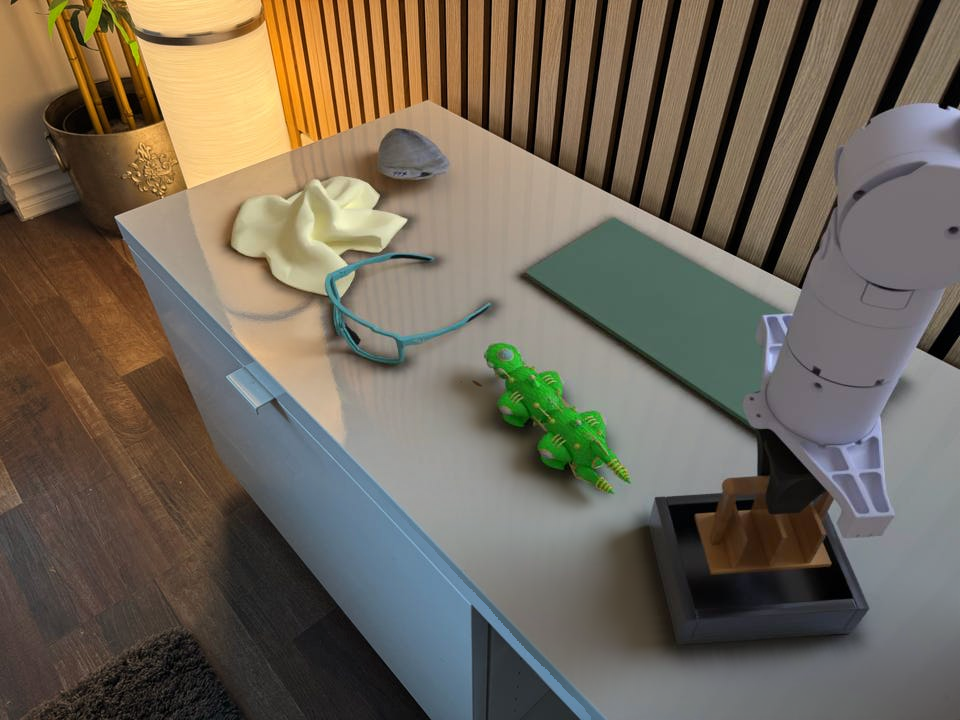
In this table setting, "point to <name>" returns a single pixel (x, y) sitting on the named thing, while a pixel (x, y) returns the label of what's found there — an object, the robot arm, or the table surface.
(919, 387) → the table surface
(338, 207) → the cloth
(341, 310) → the sunglasses
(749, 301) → the drying mat
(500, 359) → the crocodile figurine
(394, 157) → the seashell
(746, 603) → the open box
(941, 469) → the table surface
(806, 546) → the dish rack
